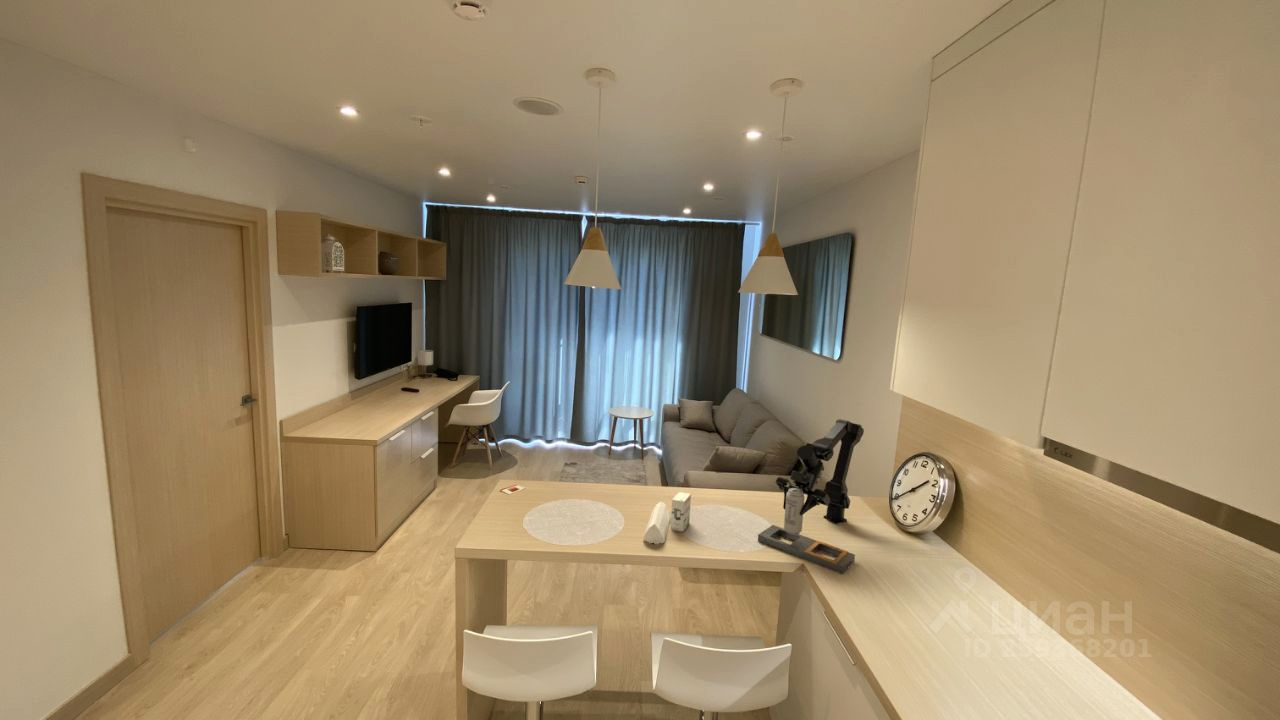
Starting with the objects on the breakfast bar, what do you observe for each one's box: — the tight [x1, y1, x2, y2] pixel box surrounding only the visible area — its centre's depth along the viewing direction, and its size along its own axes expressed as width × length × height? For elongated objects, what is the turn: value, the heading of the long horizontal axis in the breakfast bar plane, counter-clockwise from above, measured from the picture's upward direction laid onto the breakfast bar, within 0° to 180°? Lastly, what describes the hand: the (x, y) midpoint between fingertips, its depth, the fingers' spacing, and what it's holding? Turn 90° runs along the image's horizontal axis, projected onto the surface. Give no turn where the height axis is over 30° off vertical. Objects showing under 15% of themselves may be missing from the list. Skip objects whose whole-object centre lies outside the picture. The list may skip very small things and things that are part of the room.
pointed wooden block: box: [642, 501, 671, 545], centre depth 188 cm, size 7×7×24 cm
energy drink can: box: [783, 488, 805, 535], centre depth 177 cm, size 6×6×15 cm
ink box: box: [670, 491, 692, 532], centre depth 191 cm, size 9×5×12 cm, turn 157°
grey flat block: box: [757, 524, 856, 575], centre depth 176 cm, size 30×11×3 cm, turn 48°
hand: (792, 511), depth 176 cm, fingers closed on energy drink can, 6 cm apart
